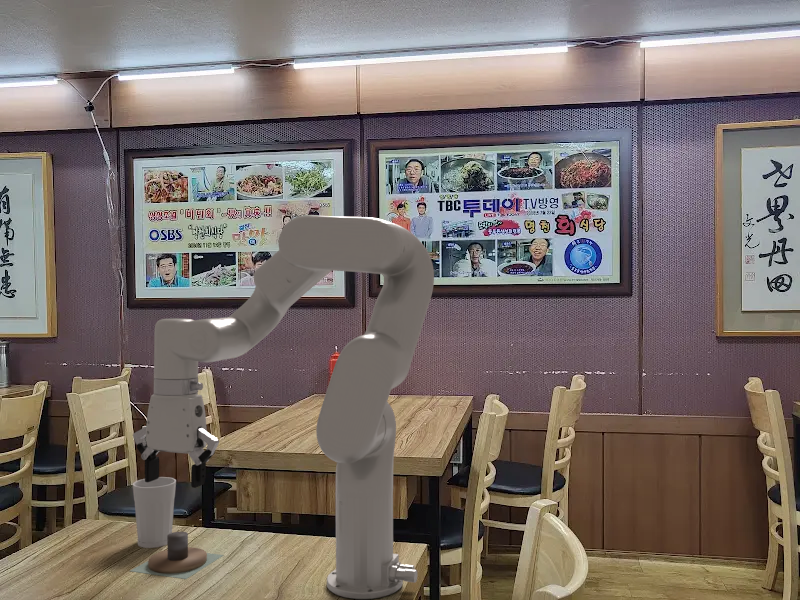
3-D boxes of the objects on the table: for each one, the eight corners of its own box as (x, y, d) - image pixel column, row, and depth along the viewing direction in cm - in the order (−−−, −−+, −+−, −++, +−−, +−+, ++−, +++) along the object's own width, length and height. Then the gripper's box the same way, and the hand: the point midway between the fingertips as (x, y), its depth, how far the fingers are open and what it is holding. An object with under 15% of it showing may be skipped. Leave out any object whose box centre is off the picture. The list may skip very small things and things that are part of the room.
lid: (217, 555, 129) (217, 528, 129) (185, 576, 120) (184, 547, 120) (171, 550, 132) (171, 523, 132) (135, 570, 123) (135, 541, 123)
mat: (223, 557, 130) (223, 555, 130) (186, 581, 119) (186, 578, 119) (170, 550, 133) (170, 548, 133) (129, 573, 122) (129, 570, 122)
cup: (162, 552, 132) (162, 488, 132) (124, 549, 134) (124, 486, 134) (184, 538, 140) (183, 477, 140) (147, 535, 142) (147, 476, 142)
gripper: (229, 387, 127) (228, 482, 127) (149, 382, 132) (147, 473, 132) (205, 393, 120) (204, 493, 120) (121, 387, 125) (120, 483, 125)
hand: (174, 483), depth 126 cm, fingers open, 9 cm apart
